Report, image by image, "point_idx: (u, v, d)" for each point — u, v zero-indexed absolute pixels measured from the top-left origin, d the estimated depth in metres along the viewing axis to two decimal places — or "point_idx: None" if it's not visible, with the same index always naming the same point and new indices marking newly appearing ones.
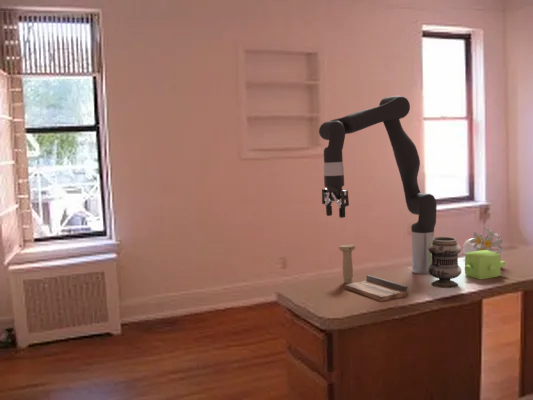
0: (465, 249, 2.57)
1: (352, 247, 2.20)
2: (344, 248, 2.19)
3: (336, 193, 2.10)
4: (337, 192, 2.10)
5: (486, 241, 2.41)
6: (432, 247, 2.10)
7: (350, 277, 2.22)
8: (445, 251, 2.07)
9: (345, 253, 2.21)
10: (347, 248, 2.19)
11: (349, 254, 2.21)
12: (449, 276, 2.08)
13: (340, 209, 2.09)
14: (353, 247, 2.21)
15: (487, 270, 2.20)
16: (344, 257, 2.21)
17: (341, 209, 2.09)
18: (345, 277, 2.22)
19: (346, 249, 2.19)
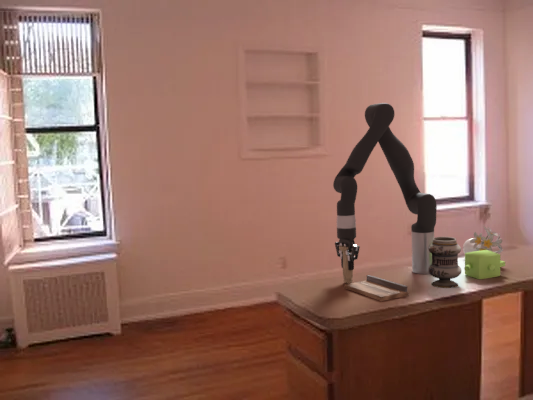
0: (465, 249, 2.57)
1: None
2: (344, 248, 2.19)
3: (348, 246, 2.19)
4: (349, 244, 2.18)
5: (486, 241, 2.41)
6: (432, 247, 2.10)
7: (350, 277, 2.22)
8: (445, 251, 2.07)
9: (345, 253, 2.21)
10: (347, 248, 2.19)
11: None
12: (449, 276, 2.08)
13: (349, 262, 2.20)
14: None
15: (487, 270, 2.21)
16: (344, 257, 2.21)
17: (350, 262, 2.20)
18: (345, 277, 2.22)
19: (346, 249, 2.19)
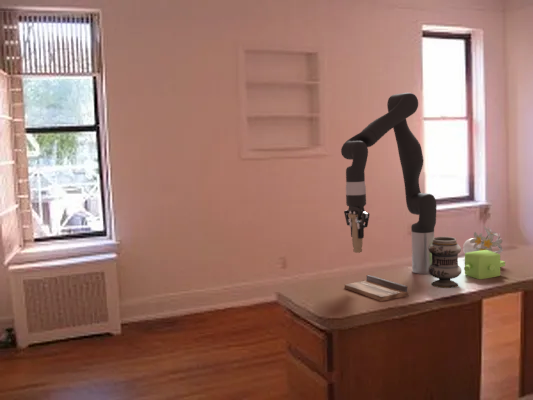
0: (465, 249, 2.57)
1: None
2: (353, 216, 2.13)
3: (358, 214, 2.12)
4: (359, 212, 2.12)
5: (486, 241, 2.41)
6: (432, 247, 2.10)
7: (360, 246, 2.15)
8: (445, 251, 2.07)
9: (354, 221, 2.14)
10: None
11: None
12: (449, 276, 2.08)
13: (359, 230, 2.13)
14: None
15: (487, 270, 2.21)
16: (353, 225, 2.15)
17: (360, 230, 2.13)
18: (354, 246, 2.15)
19: (355, 217, 2.13)
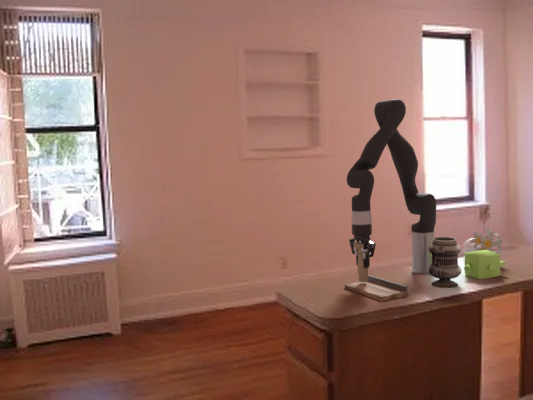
0: (465, 249, 2.57)
1: None
2: (359, 245, 2.11)
3: (364, 243, 2.11)
4: (365, 241, 2.10)
5: (486, 241, 2.41)
6: (432, 247, 2.10)
7: (365, 275, 2.13)
8: (445, 251, 2.07)
9: (360, 250, 2.13)
10: None
11: None
12: (449, 276, 2.08)
13: (364, 260, 2.12)
14: None
15: (487, 270, 2.21)
16: (359, 254, 2.13)
17: (365, 260, 2.12)
18: (360, 275, 2.14)
19: (361, 246, 2.11)
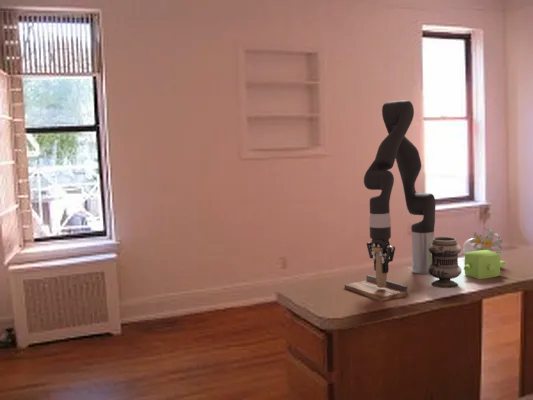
0: (465, 249, 2.57)
1: None
2: (378, 249, 2.01)
3: (382, 247, 2.01)
4: (384, 245, 2.01)
5: (486, 241, 2.41)
6: (432, 247, 2.10)
7: (384, 281, 2.04)
8: (445, 251, 2.07)
9: (379, 255, 2.03)
10: (381, 249, 2.01)
11: None
12: (449, 276, 2.08)
13: (383, 264, 2.02)
14: None
15: (487, 270, 2.21)
16: (377, 259, 2.03)
17: (384, 264, 2.02)
18: (378, 281, 2.04)
19: (380, 250, 2.02)
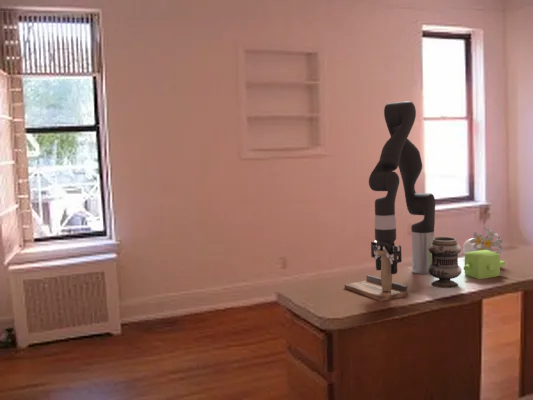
0: (465, 249, 2.57)
1: None
2: (383, 252, 1.99)
3: (388, 248, 1.99)
4: (389, 247, 1.98)
5: (486, 241, 2.41)
6: (432, 247, 2.10)
7: (389, 284, 2.01)
8: (445, 251, 2.07)
9: (384, 258, 2.01)
10: None
11: (388, 259, 2.01)
12: (449, 276, 2.08)
13: (392, 265, 1.98)
14: None
15: (486, 270, 2.21)
16: (383, 262, 2.01)
17: (393, 265, 1.98)
18: (384, 284, 2.02)
19: (385, 253, 1.99)
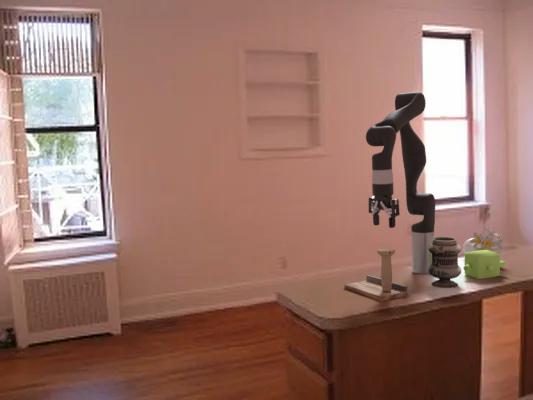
0: (465, 249, 2.57)
1: (392, 252, 2.00)
2: (383, 252, 1.99)
3: (385, 202, 2.00)
4: (387, 201, 2.00)
5: (486, 241, 2.41)
6: (432, 247, 2.10)
7: (389, 284, 2.01)
8: (445, 251, 2.07)
9: (384, 258, 2.01)
10: (387, 252, 1.99)
11: (389, 259, 2.01)
12: (449, 276, 2.08)
13: (390, 219, 2.00)
14: (393, 251, 2.01)
15: (486, 270, 2.21)
16: (383, 262, 2.01)
17: (391, 219, 1.99)
18: (384, 284, 2.02)
19: (386, 253, 1.99)
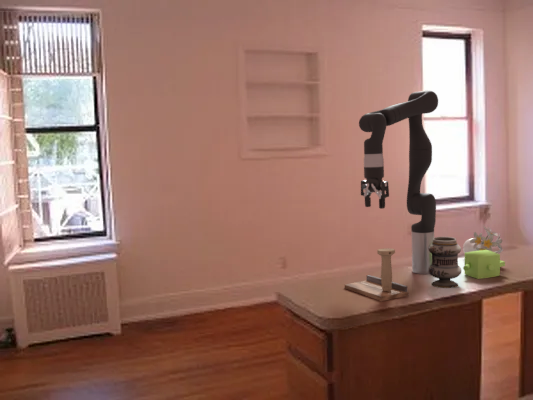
0: (465, 249, 2.57)
1: (392, 252, 2.00)
2: (383, 252, 1.99)
3: (376, 184, 2.13)
4: (377, 183, 2.13)
5: (486, 241, 2.41)
6: (432, 247, 2.10)
7: (389, 284, 2.01)
8: (445, 251, 2.07)
9: (384, 258, 2.01)
10: (387, 252, 1.99)
11: (389, 259, 2.01)
12: (449, 276, 2.08)
13: (380, 200, 2.12)
14: (393, 251, 2.01)
15: (486, 270, 2.21)
16: (383, 262, 2.01)
17: (381, 200, 2.12)
18: (384, 284, 2.02)
19: (386, 253, 1.99)
